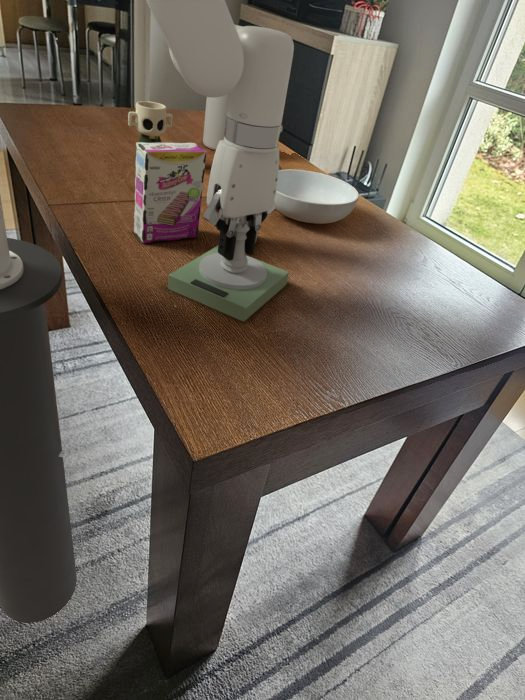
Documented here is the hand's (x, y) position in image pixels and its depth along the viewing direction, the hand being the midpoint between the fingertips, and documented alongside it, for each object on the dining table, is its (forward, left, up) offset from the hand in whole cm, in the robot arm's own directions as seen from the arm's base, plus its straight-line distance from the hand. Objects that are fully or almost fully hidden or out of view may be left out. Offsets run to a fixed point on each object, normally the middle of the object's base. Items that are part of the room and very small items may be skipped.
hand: (235, 253), depth 80 cm
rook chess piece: (0, 0, -3) cm, 3 cm away
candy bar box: (0, +20, -6) cm, 21 cm away
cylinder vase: (+48, +63, -6) cm, 80 cm away
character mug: (+20, +58, -6) cm, 62 cm away
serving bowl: (+35, +17, -6) cm, 40 cm away
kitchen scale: (-1, 0, -6) cm, 6 cm away
